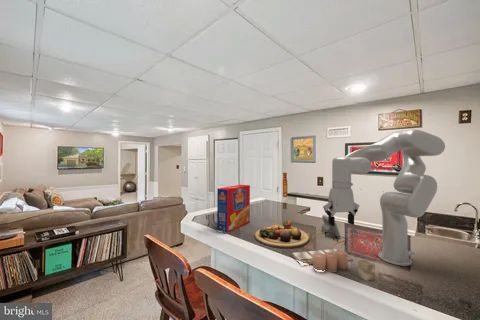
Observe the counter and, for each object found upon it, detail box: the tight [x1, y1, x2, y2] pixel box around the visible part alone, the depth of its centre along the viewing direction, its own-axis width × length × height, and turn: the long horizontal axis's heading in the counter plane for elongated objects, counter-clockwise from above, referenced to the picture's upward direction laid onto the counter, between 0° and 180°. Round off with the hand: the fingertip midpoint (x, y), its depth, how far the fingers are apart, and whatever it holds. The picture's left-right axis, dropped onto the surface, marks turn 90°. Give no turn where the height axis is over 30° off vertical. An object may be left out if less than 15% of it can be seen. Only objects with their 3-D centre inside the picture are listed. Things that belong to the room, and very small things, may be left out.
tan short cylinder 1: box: [312, 253, 327, 271], centre depth 89 cm, size 5×5×6 cm
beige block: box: [357, 259, 376, 282], centre depth 83 cm, size 4×4×6 cm
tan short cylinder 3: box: [335, 249, 349, 270], centre depth 91 cm, size 5×5×6 cm
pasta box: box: [216, 184, 251, 234], centre depth 145 cm, size 28×8×28 cm, turn 147°
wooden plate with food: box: [254, 219, 310, 249], centre depth 126 cm, size 32×32×8 cm
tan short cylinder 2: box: [324, 252, 338, 272], centre depth 89 cm, size 5×5×6 cm
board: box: [289, 248, 354, 264], centre depth 100 cm, size 26×12×1 cm, turn 102°
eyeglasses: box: [309, 231, 348, 249], centre depth 118 cm, size 14×14×4 cm
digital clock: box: [321, 214, 342, 239], centre depth 132 cm, size 16×9×11 cm, turn 169°
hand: (341, 224), depth 92 cm, fingers open, 9 cm apart
